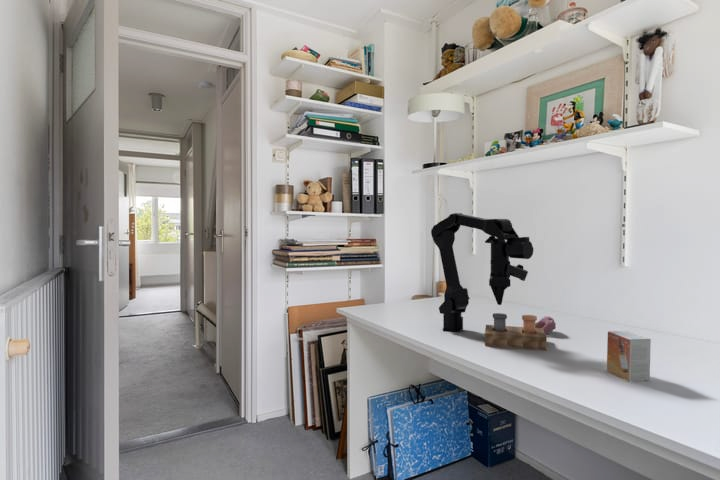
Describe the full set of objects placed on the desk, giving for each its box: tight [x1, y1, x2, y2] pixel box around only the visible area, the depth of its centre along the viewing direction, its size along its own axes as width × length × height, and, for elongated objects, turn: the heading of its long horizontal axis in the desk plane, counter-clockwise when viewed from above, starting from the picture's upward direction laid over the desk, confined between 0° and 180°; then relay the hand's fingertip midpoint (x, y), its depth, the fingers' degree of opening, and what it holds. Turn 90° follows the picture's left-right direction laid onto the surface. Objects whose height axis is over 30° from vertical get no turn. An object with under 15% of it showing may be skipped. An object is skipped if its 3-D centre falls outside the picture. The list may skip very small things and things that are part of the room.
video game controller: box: [535, 315, 556, 336], centre depth 146 cm, size 10×5×7 cm, turn 169°
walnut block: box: [484, 324, 548, 351], centre depth 133 cm, size 18×12×4 cm, turn 71°
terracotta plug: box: [521, 314, 538, 334], centre depth 132 cm, size 4×4×6 cm
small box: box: [606, 330, 652, 383], centre depth 103 cm, size 8×6×10 cm
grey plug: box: [492, 312, 508, 332], centre depth 135 cm, size 4×4×6 cm
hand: (499, 304), depth 135 cm, fingers closed
